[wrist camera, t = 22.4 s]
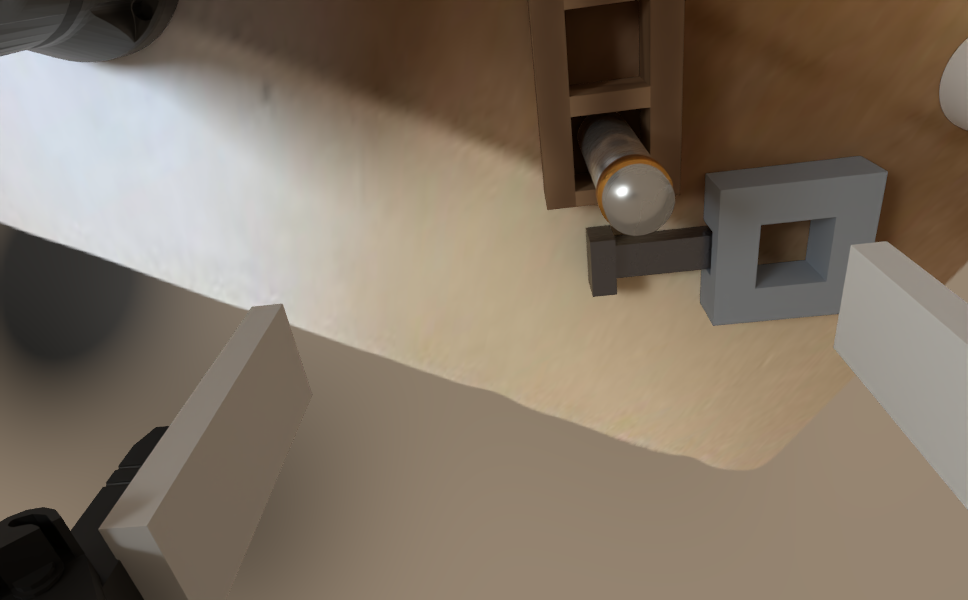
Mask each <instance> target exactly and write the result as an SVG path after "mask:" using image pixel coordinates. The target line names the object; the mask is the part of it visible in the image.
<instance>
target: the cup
mask: <svg viewBox="0 0 968 600" xmlns="http://www.w3.org/2000/svg"><path fill="white" fill-rule="evenodd" d="M939 99H940V105H941V108H942V111H943V112H944V114H945V116H946V117H947V118H948V119H949V120H950V122H952V123H953V124H954V125H956V126H958V127H960V128H962V129H965V130H967V131H968V38H967V39H966V40H965V41H964V42H963V43H962V44H961V45H960V46H959V47H958V49H957V50H956V51H955V53H954V54H953V55H952V57H951V58H950V60H949V62H948V64H947V66H946V68H945V70H944V72H943V75H942V78H941V82H940V88H939Z"/></svg>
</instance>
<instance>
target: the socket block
mask: <svg viewBox="0 0 968 600" xmlns="http://www.w3.org/2000/svg"><path fill="white" fill-rule="evenodd" d="M887 174H888V171H886V170H884V169H883V168H881V167H879V166H877V165H876V164H874V163H872V162H871V161H869V160H867V159H865V158H864V157H862V156H855V157H846V158H837V159H829V160H820V161H811V162H802V163H794V164H785V165H776V166H768V167H759V168H750V169H741V170H733V171H724V172H715V173H706V177H705V199H704V221H705V222H706V224H707V225H708V226H709V228H710V229H711V230H712V232H713V236H712V255H711V269H701V290H700V303H701V305H702V307H703V309H704V310H705V312H706V314H707V316H708V318H709V319H710V321H711V323H712V325H713V326H715V325H726V324H736V323H747V322H758V321H768V320H779V319H789V318H800V317H810V316H821V315H832V314H839V312H840V306H841V300H842V294H843V288H844V282H845V277H846V271H847V265H848V259H849V253H850V247H851V245H855V244H865V243H874V242H875V237H876V232H877V227H878V222H879V216H880V211H881V206H882V201H883V195H884V190H885V185H886V180H887ZM804 220H811V223H810V231H809V238H808V245H807V253H806V260H801V261H791V262H781V263H771V264H761V265H757V263H758V252H759V241H760V230H761V225H767V224H776V223H785V222H795V221H804Z"/></svg>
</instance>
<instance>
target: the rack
mask: <svg viewBox="0 0 968 600" xmlns="http://www.w3.org/2000/svg"><path fill="white" fill-rule="evenodd" d="M626 1H633V0H528V9H529V20H530V32H531V43H532V55H533V67H534V78H535V90H536V101H537V113H538V125H539V136H540V148H541V159H542V171H543V183H544V193H545V199H546V205H547V210H551V209H560V208H569V207H578V206H586V205H595V204H598V202H597V199H596V188H595V185H594V183H593V180H592V178H591V175H590V173H583V174H574V162H573V146H572V129H571V117H576V116H584V115H592V114H600V113H608V112H616V111H624V110H632V109H640V141H641V143H642V144H643V146H644V147H645V149H646V150H647V151H648V153H649V154H650V156H651V157H652V158H653V159H655V160H656V161H658V162H659V163H660V164H661V165H662V166H663V168H664V169H665V171H666V172H667V173H668V175H669V176H670V178H671V181H672V184H673V190H674V194H675V196H676V195H680V176H681V135H682V93H683V52H684V11H685V0H639V76H638V77H630V78H622V79H615V80H607V81H599V82H591V83H584V84H576V85H569V80H568V64H567V48H566V31H565V15H564V10H568V9H575V8H582V7H590V6H597V5H604V4H611V3H619V2H626Z"/></svg>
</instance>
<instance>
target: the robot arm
mask: <svg viewBox="0 0 968 600" xmlns="http://www.w3.org/2000/svg"><path fill="white" fill-rule="evenodd" d="M177 2H178V0H0V56H4V55H8V54H12V53H16V52H20V51H24V50H29V51H32V52H36V53H40V54H44V55H47V56H51V57H55V58H59V59H63V60H68V61H75V62H101V61H107V60H111V59H115V58H118V57H122V56H125V55H129V54H132V53H134V52H137V51H139V50H141V49H143V48H144V47H146V46H147V45H149V44H150V43H151V42H153V41H154V40H155V39H156V38H157V37H158V36H159V35H160V34H161V33H162V31H163V30H164V29H165V27H166V26H167V24H168V23H169V21H170V19H171V17H172V15H173V13H174V11H175V8H176V5H177ZM833 348H834V349H835V350H836V351H837V352H838V354H839V355H840V356H841V357H842V358H843V360H844V361H845V362H846V363H847V365H848V366H849V367H850V368H851V369H852V371H853V372H854V373H855V374H856V375H857V377H858V378H859V379H860V380H861V381H862V383H863V384H864V385H865V386H866V387H867V389H868V390H869V391H870V392H871V393H872V395H873V396H874V397H875V398H876V400H877V401H878V402H879V403H880V404H881V406H882V407H883V408H884V409H885V410H886V412H887V413H888V414H889V415H890V417H891V418H892V419H893V420H894V421H895V422H896V424H897V425H898V426H899V427H900V429H901V430H902V431H903V432H904V433H905V435H906V436H907V437H908V438H909V439H910V441H911V442H912V443H913V444H914V445H915V447H916V448H917V449H918V450H919V451H920V452H921V454H922V455H923V456H924V457H925V459H926V460H927V461H928V462H929V464H930V465H931V466H932V467H933V468H934V470H935V471H936V472H937V473H938V474H939V476H940V477H941V478H942V479H943V481H944V482H945V483H946V484H947V485H948V487H949V488H950V489H951V490H952V491H953V493H954V494H955V495H956V496H957V498H958V499H959V500H960V501H961V502H962V504H963V505H964V506H965V507H966V508H967V510H968V303H967V302H966V301H964V300H963V299H962V298H960V297H959V296H958V295H956V294H955V293H954V292H953V291H951V290H950V289H949V288H947V287H946V286H945V285H943V284H942V283H941V282H939V281H938V280H937V279H936V278H934V277H933V276H932V275H930V274H929V273H928V272H926V271H925V270H924V269H922V268H921V267H920V266H919V265H917V264H916V263H915V262H913V261H912V260H911V259H909V258H908V257H907V256H905V255H904V254H903V253H902V252H900V251H899V250H898V249H896V248H895V247H894V246H892V245H891V244H890V243H889V242H887V241H884V242H874V243H865V244H855V245H851V247H850V253H849V259H848V265H847V271H846V277H845V282H844V288H843V294H842V300H841V306H840V312H839V318H838V324H837V329H836V335H835V341H834V347H833ZM311 397H312V392H311V389H310V386H309V382H308V379H307V377H306V373H305V371H304V367H303V364H302V361H301V359H300V355H299V352H298V350H297V346H296V343H295V340H294V337H293V334H292V331H291V328H290V325H289V322H288V319H287V316H286V313H285V310H284V307H283V304H275V305H265V306H255V307H251V309H250V310H249V312H248V313H247V315H246V316H245V318H244V319H243V321H242V322H241V323H240V325H239V326H238V328H237V329H236V331H235V332H234V334H233V335H232V336H231V338H230V339H229V341H228V342H227V344H226V345H225V347H224V348H223V349H222V351H221V352H220V354H219V355H218V357H217V358H216V360H215V361H214V362H213V364H212V366H211V367H210V368H209V370H208V371H207V373H206V374H205V375H204V377H203V378H202V380H201V381H200V383H199V384H198V386H197V387H196V388H195V390H194V391H193V393H192V394H191V396H190V397H189V399H188V400H187V402H186V403H185V404H184V406H183V407H182V409H181V410H180V412H179V413H178V415H177V416H176V418H175V419H174V420H173V422H172V423H171V425H170V426H165V427H156V428H154V429H153V430H152V431H151V432H150V433H148V434H147V435H146V436H145V437H143V439H141V440H140V441H139V442H137V443H136V444H135V445H134V446H133V447H132V448H131V450H130V451H129V452H128V454H127V455H126V456H125V458H124V459H123V461H122V462H121V463H120V465H119V469H118V470H115V471H114V473H113V474H112V475H111V477H110V478H109V479H108V481H107V482H106V487H103V488H102V489H101V490H100V492H99V493H98V494H97V496H96V497H95V498H94V500H93V501H92V503H91V504H90V505H89V507H88V508H87V509H86V511H85V512H84V513H83V515H82V516H81V518H80V519H79V520H78V522H77V523H76V524H75V526H74V527H73V528H72V530H71V531H70V530H69V528H68V527H67V525H66V524H65V522H64V520H63V519H62V517H61V516H60V515H59V514H58V512H57V511H56V510H54V509H49V508H44V507H42V508H36V509H30V510H25V511H23V512H20V513H18V514H15V515H12V516H10V517H7V518H6V519H4V520H3V521H1V522H0V600H226V599H227V596H228V594H229V592H230V589H231V587H232V585H233V582H234V580H235V577H236V575H237V573H238V570H239V568H240V565H241V563H242V561H243V558H244V556H245V554H246V551H247V548H248V546H249V544H250V542H251V539H252V537H253V534H254V532H255V530H256V528H257V525H258V523H259V520H260V517H261V516H262V513H263V511H264V508H265V506H266V504H267V501H268V499H269V497H270V494H271V492H272V490H273V487H274V485H275V482H276V480H277V478H278V475H279V473H280V470H281V468H282V466H283V463H284V461H285V459H286V456H287V454H288V452H289V449H290V447H291V444H292V442H293V440H294V437H295V435H296V432H297V430H298V428H299V425H300V423H301V421H302V418H303V416H304V413H305V411H306V409H307V406H308V404H309V402H310V399H311Z"/></svg>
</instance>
